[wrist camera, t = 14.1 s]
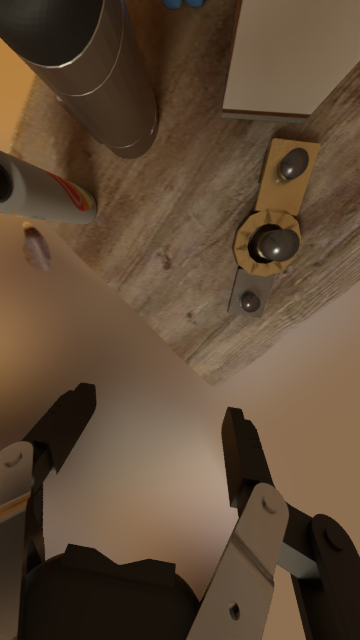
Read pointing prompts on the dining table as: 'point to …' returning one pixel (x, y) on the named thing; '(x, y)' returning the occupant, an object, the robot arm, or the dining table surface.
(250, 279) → the tan piece
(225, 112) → the beige rectangular tower
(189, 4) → the grapes
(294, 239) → the pin
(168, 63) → the dining table surface
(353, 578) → the robot arm
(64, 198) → the lotion bottle
